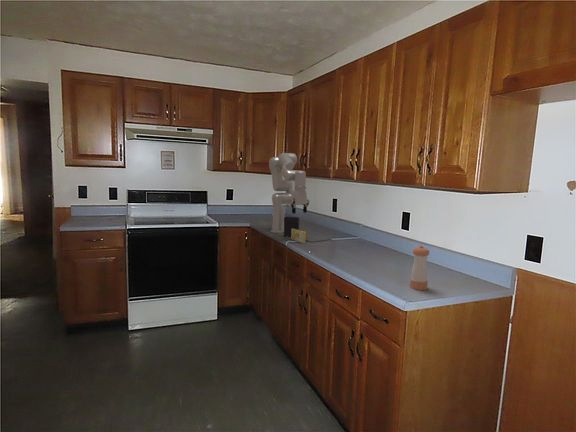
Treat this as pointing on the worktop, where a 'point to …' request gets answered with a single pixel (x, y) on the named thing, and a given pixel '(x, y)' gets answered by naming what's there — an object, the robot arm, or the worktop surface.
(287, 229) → the calculator
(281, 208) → the robot arm
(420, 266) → the pepper shaker
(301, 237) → the candy box
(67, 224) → the worktop surface
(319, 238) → the mat
